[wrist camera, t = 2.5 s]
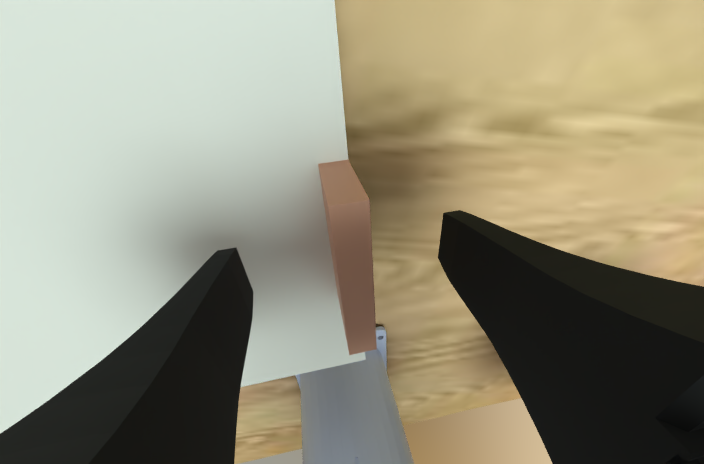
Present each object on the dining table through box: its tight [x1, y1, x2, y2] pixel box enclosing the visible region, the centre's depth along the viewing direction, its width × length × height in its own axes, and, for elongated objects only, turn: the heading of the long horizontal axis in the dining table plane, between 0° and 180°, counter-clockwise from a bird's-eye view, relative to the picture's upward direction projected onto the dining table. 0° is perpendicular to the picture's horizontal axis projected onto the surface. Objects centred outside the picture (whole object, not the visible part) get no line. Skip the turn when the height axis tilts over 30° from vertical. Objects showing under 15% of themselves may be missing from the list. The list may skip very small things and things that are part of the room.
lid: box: [0, 0, 377, 433], centre depth 9 cm, size 17×21×4 cm
